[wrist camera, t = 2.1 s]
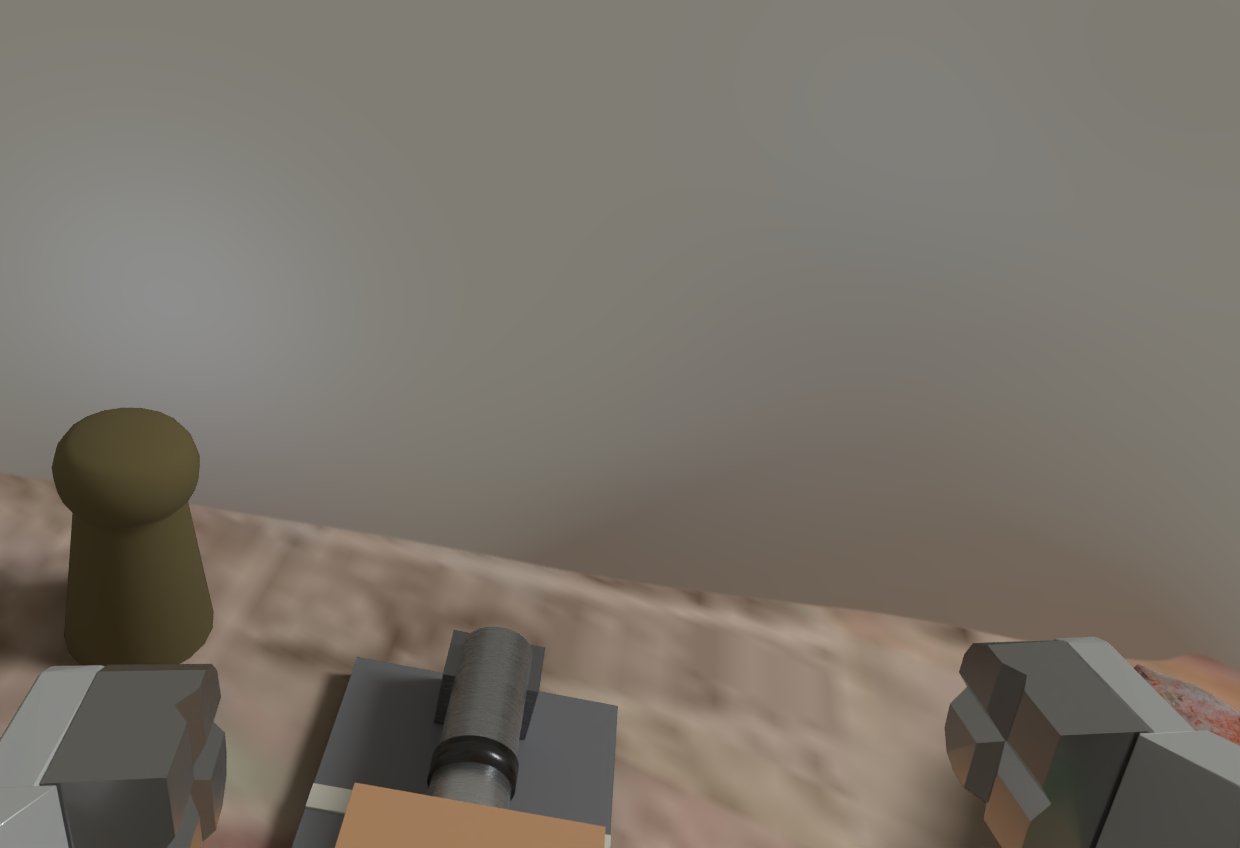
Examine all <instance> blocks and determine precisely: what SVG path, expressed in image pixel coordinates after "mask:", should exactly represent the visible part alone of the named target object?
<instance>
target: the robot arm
mask: <svg viewBox="0 0 1240 848" xmlns="http://www.w3.org/2000/svg"><path fill="white" fill-rule="evenodd" d="M959 673H960V675H961V677H962V679H963V680H964V682H965V684H966V686H967V688H966V689H965V690H964V691H963V692H962V693H961V694H959V695H958V696H957V697H956V698H955V699H954V700H953V701H952V702H951V703H950V706H949V711H948V715H947V719H946V724H945V737H946V749H947V754H948V757H949V760H950V762H951V765H952V768H953V771H954V772H955V774H956V776H957V777H958V779H959V781H960V782H961V784H962V786H963V787H964V788H965V789H967V790H968V791H970V792H971V793H973V794H974V795H976V796H977V797H979V798H980V799H982V800H983V801H985V802H986V808H985V813H984V821H985V822H986V824H987V825H988V827H989V829H990V830H991V832H992V833H993V835H994V836H995V838H996V840H997V841H998V843H999V844H1000V846H1001V847H1002V848H1240V746H1239V745H1237V744H1235V743H1232V742H1230V741H1228V740H1226V739H1224V738H1222V737H1220V736H1218V735H1216V734H1214V733H1212V732H1210V731H1208V730H1205V731H1195V730H1194V729H1193V728H1192V727H1191V726H1190V725H1189V724H1188V723H1187V722H1186V721H1185V720H1184V719H1183V718H1182V717H1181V716H1180V715H1179V714H1178V713H1177V712H1176V711H1175V710H1174V709H1173V708H1172V707H1171V706H1170V705H1169V704H1168V703H1167V702H1166V701H1165V700H1164V698H1163V697H1162V696H1161V695H1160V694H1159V693H1158V692H1157V691H1156V690H1155V689H1154V688H1153V687H1152V686H1151V685H1150V684H1149V683H1148V682H1147V681H1146V680H1145V679H1144V678H1143V677H1142V676H1141V675H1140V674H1139V673H1138V672H1137V671H1136V670H1135V669H1134V668H1133V667H1132V666H1131V665H1130V664H1129V663H1128V662H1127V661H1126V660H1125V659H1124V658H1123V657H1122V656H1121V655H1120V654H1119V653H1118V652H1117V651H1116V650H1115V649H1114V648H1113V647H1112V646H1111V645H1110V644H1109V643H1108V642H1105V641H1103V640H1101V639H1099V638H1097V637H1080V638H1062V639H1054V640H1052V641H1018V642H989V643H973V644H972V645H971V646H970V648H969V649H968V650H967V651H966V653H965V654H964V657H963V660H962V664H961V667H960V670H959ZM220 699H221V694H220V687H219V680H218V673H217V670H216V668H215V667H214V666H213V665H212V664H142V665H106V666H101V665H86V666H51V667H50V668H48V669H46V670H45V671H43V672H42V673H41V674H40V675H39V676H38V677H37V679H36V680H35V682H34V684H33V685H32V687H31V689H30V690H29V692H28V694H27V695H26V697H25V699H24V700H23V702H22V703H21V705H20V707H19V708H18V710H17V712H16V713H15V715H14V717H13V718H12V720H11V722H10V723H9V725H8V727H7V728H6V730H5V732H4V733H3V735H2V737H1V738H0V848H203V843H202V842H203V841H204V840H205V839H206V838H207V837H208V836H210V835H211V834H212V833H213V832H214V831H215V830H216V828H217V824H218V820H219V816H220V813H221V809H222V804H223V797H224V789H225V782H226V742H225V732H224V731H222V730H221V729H220V728H219V727H218V726H217V725H216V724H215V723H214V722H213V721H214V718H215V715H216V711H217V708H218V705H219V702H220Z"/></svg>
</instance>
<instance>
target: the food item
mask: <svg viewBox="0 0 1240 848" xmlns="http://www.w3.org/2000/svg"><path fill="white" fill-rule="evenodd" d="M1134 669H1135V670H1136V671H1137V672H1138V673H1139V674H1140V675H1141V676H1142V677H1143V678H1144V679H1145V680H1146V681H1147V682H1148V683H1149V684H1150V685H1151V686H1152V687H1153V688H1154V689H1155V690H1156V691H1157V692H1158V693H1159V694H1160V695H1161V696H1162V697H1163V698H1164V700H1165V701H1166V702H1167V703H1168V704H1169V705H1170V706H1171V707H1172V708H1173V709H1174V710H1175V711H1176V712H1177V713H1178V714H1179V715H1180V716H1181V717H1182V718H1183V719H1184V720H1185V721H1186V722H1187V723H1188V724H1189V725H1190V726H1191V727H1192V728H1193V729H1194V730H1195V731H1205V730H1208V731H1210V732H1212V733H1214V734H1216V735H1218V736H1220V737H1222V738H1224V739H1226V740H1228V741H1230V742H1232V743H1235V744H1237V745H1239V746H1240V714H1239V713H1238V712H1237V711H1236V710H1234V709H1233V708H1232V707H1231V706H1229V705H1228V704H1227V703H1225V702H1224V701H1222V700H1220V699H1219V698H1217V697H1216V696H1214V695H1212V694H1210V693H1208V692H1206V691H1204V690H1203V689H1201V688H1200V687H1198V686H1197V685H1195V684H1191V683H1188V682H1184V681H1181V680H1179V679H1177V678H1174V677H1172V676H1169V675H1165V674H1162V673H1159V672H1155V671H1152V670H1149V669H1147V668H1145V667H1143V666H1140V665H1138V664H1137V665H1136V666H1135V667H1134Z"/></svg>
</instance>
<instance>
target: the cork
mask: <svg viewBox="0 0 1240 848" xmlns="http://www.w3.org/2000/svg"><path fill="white" fill-rule="evenodd" d="M199 457H200V456H199V453H198V450H197V448H196V445H195V443H194V441H193V439H192V436H191V434H190V433H189V432H188V431H187V430H186V429H185V428H184V427H183V426H182V425H181V424H180V423H178V422H177V421H176V420H175V419H174V418H172V417H170V416H167V415H165V414H163V413H161V412H158V411H153V410H148V409H143V408H118V409H111V410H105V411H101V412H99V413H96V414H93V415H90V416H87V417H85V418H84V419H82V420H81V421H79V422H77V423H76V424H74V425H73V426H72V427H71V428H70V429H69V431H68V432H67V433H66V434H65V435H64V436H63V438H62V439H61V440H60V442H59V443H58V445H57V448H56V452H55V456H54V460H53V465H52V472H53V479H54V482H55V486H56V489H57V492H58V494H59V496H60V498H61V500H62V502H63V503H64V504H65V505H66V506H67V507H68V508H69V509H70V511H71V512H72V513H73V515H72V530H71V544H70V559H69V573H68V588H67V602H66V616H65V631H64V636H65V640H66V644H67V647H68V651H69V652H70V653H71V654H72V656H73V657H74V658H75V659H76V660H77V661H78V662H79V663H80V664H81V665H83V666H86V665H101V666H106V665H142V664H180V663H182V662H183V661H185V660H187V659H189V658H190V657H191V656H192V655H193V654H194V653H195V652H196V651H197V650H198V649H199V648H200V647H201V646H203V645H204V644H205V642H206V640H207V638H208V636H209V634H210V632H211V630H212V628H213V613H214V612H213V608H212V603H211V599H210V595H209V590H208V586H207V582H206V577H205V573H204V569H203V564H202V560H201V556H200V551H199V547H198V543H197V538H196V534H195V530H194V525H193V521H192V517H191V512H190V508H189V504H188V500H189V499H190V497H191V496H192V494H193V492H194V491H195V488H196V485H197V482H198V478H199V467H200V464H199V463H200V459H199Z"/></svg>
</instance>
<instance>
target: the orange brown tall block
mask: <svg viewBox="0 0 1240 848" xmlns="http://www.w3.org/2000/svg"><path fill="white" fill-rule="evenodd" d="M605 829H606V827H604V826H599V825H593V824H587V823H582V822H576V821H570V820H564V819H559V818H553V817H547V816H542V815H536V814H530V813H525V812H519V811H513V810H508V809H502V808H496V807H491V806H485V805H479V804H474V803H468V802H462V801H457V800H451V799H445V798H440V797H434V796H428V795H423V794H417V793H411V792H406V791H400V790H394V789H389V788H383V787H377V786H372V785H366V784H360V783H354V787H353V790H352V793H351V796H350V800H349V803H348V806H347V810H346V813H345V816H344V819H343V823H342V826H341V829H340V832H339V836H338V839H337V842H336V846H335V848H604V845H605Z"/></svg>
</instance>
